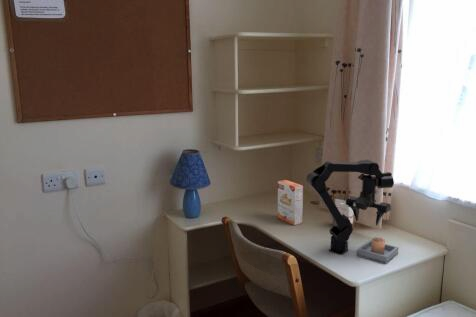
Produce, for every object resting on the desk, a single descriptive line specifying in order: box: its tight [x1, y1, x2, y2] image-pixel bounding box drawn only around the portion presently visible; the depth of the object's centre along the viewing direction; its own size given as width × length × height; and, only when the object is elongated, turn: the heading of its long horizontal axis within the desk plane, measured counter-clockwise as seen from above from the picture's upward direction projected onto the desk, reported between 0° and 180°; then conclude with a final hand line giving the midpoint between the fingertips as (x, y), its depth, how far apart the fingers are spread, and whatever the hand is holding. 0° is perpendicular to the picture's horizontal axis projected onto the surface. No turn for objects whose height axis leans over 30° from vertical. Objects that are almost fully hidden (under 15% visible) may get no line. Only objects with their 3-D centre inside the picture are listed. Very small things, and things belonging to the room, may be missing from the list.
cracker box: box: [277, 179, 304, 226], centre depth 229 cm, size 14×6×21 cm, turn 33°
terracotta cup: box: [371, 236, 386, 255], centre depth 188 cm, size 6×6×6 cm
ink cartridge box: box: [334, 198, 354, 228], centre depth 220 cm, size 9×5×15 cm, turn 45°
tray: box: [356, 239, 400, 265], centre depth 189 cm, size 13×13×3 cm
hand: (366, 222), depth 193 cm, fingers open, 9 cm apart
